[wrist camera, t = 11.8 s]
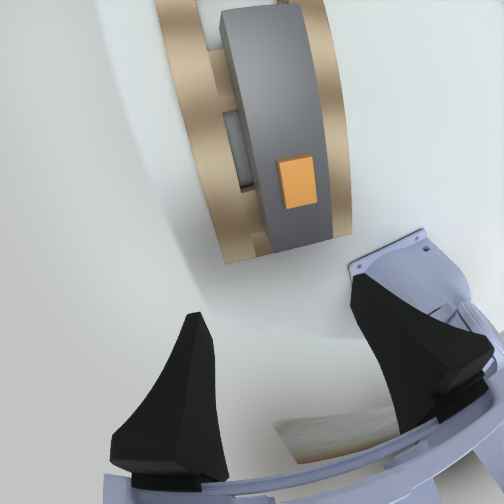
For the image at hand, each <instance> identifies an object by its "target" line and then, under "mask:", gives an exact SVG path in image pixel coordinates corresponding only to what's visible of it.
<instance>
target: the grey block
mask: <svg viewBox="0 0 504 504" xmlns="http://www.w3.org/2000/svg"><path fill="white" fill-rule="evenodd" d="M219 30H220V34H221V39H222V43H223V47H224V51H225V55H226V60H227V64H228V68H229V73H230V77H231V81H232V86H233V90H234V94H235V99H236V103H237V108H238V112H239V117H240V121H241V126H242V130H243V135H244V139H245V144H246V149H247V153H248V158H249V163H250V167H251V172H252V177H253V185H254V186H255V191H256V196H257V201H258V206H259V210H260V215H261V220H262V225H263V227H264V230H265V233H266V235H267V238H268V241H269V243H270V246H271V249H272V251H273V253H277V252H281V251H285V250H289V249H293V248H297V247H301V246H305V245H309V244H313V243H317V242H321V241H325V240H329V239H333V223H332V206H331V191H330V179H329V168H328V158H327V148H326V140H325V132H324V124H323V117H322V110H321V103H320V97H319V91H318V85H317V79H316V73H315V68H314V63H313V58H312V53H311V48H310V43H309V39H308V35H307V30H306V26H305V22H304V18H303V14H302V10H301V6H300V4H275V5H262V6H252V7H244V8H237V9H230V10H224V11H221V18H220V26H219Z"/></svg>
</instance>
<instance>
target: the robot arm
mask: <svg viewBox="0 0 504 504" xmlns="http://www.w3.org/2000/svg"><path fill="white" fill-rule="evenodd" d="M359 264H360V265H359ZM358 265H359V266H358ZM349 272H350V277H351V282H352V293H351V303H350V307H351V309H352V312H353V314H354V317H355V319H356V322H357V324H358V326H359V328H360V329H361V331H362V333H363V335H364V337H365V338H366V340H367V342H368V344H369V345H370V347H371V349H372V351H373V353H374V354H375V356H376V358H377V360H378V362H379V365H380V367H381V369H382V372H383V375H384V377H385V380H386V383H387V386H388V389H389V392H390V397H391V399H392V402H393V405H394V408H395V412H396V416H397V421H398V425H399V430H400V434H401V435H400V436H398V437H396V438H394V439H391V440H389V441H387V442H385V443H382V444H380V445H377V446H375V447H372V448H370V449H367V450H365V451H362V452H359V453H357V454H354V455H351V456H348V457H345V458H342V459H339V460H336V461H333V462H329V463H326V464H322V465H319V466H315V467H311V468H307V469H303V470H299V471H295V472H290V473H285V474H280V475H274V476H269V477H263V478H256V479H249V480H240V481H229V482H225V481H226V480H227V479H228V478H229V473H228V470H227V465H226V461H225V456H224V452H223V447H222V442H221V437H220V430H219V425H218V417H217V411H216V398H215V354H214V346H213V339H212V337H211V335H210V332H209V330H208V328H207V326H206V324H205V321H204V319H203V317H202V314H201V312H195V313H190V314H187V316H186V318H185V321H184V323H183V326H182V329H181V331H180V334H179V336H178V339H177V341H176V343H175V346H174V348H173V350H172V353H171V355H170V357H169V359H168V361H167V363H166V365H165V367H164V369H163V371H162V372H161V374H160V376H159V378H158V379H157V381H156V383H155V384H154V386H153V387H152V389H151V390H150V392H149V393H148V395H147V396H146V398H145V399H144V400H143V402H142V403H141V404H140V406H139V407H138V408H137V409H136V411H135V412H134V413H133V414H132V415H131V417H130V418H129V419H128V420H127V421H126V422H125V423H124V424H123V425H122V426H121V427H120V428H119V429H118V430H117V431H116V432H115V433H114V434H113V435H112V440H111V449H110V462H111V463H112V464H113V465H115V466H117V467H119V468H122V469H124V470H126V471H129V472H131V473H132V478H130V477H125V476H118V475H111V474H104V484H103V486H104V487H103V504H442V502H441V499H440V496H439V493H438V491H437V488H436V485H435V482H434V480H433V477H434V476H436V475H437V474H439V473H440V472H442V471H443V470H445V469H446V468H448V467H449V466H451V465H452V464H453V463H455V462H456V461H458V460H459V459H460V458H462V457H463V456H464V455H466V454H467V453H468V452H470V451H471V450H472V449H473V451H474V452H475V453H476V455H477V456H478V457H479V459H480V460H481V461H482V463H483V464H484V465H485V467H486V468H487V470H488V471H489V473H490V474H491V475H492V477H493V478H494V480H495V481H496V482H497V484H498V485H499V487H500V488H501V490H502V491H503V493H504V341H503V339H502V338H501V336H500V335H499V333H498V332H497V330H496V329H495V328H494V326H493V325H492V324H491V323H490V321H489V320H488V319H487V318H486V317H485V315H484V314H483V313H482V312H481V311H480V310H479V309H478V308H477V307H476V306H475V305H474V304H473V303H471V294H470V288H469V285H468V282H467V280H466V278H465V276H464V274H463V273H462V271H461V270H460V269H459V268H458V267H457V266H456V265H455V264H454V263H453V262H452V261H451V260H450V259H449V258H448V257H447V256H446V255H445V254H444V253H443V252H442V251H441V250H440V249H439V248H438V247H437V246H436V245H435V244H433V243H432V242H431V241H430V240H429V239H428V238H427V231H426V230H425V229H422V230H420V231H418V232H416V233H414V234H412V235H410V236H408V237H406V238H404V239H402V240H400V241H398V242H395V243H393V244H391V245H389V246H387V247H385V248H383V249H381V250H379V251H377V252H375V253H372V254H370V255H368V256H366V257H364V258H362V259H360V260H357V261H355V262H353V263H351V264H350V266H349ZM415 443H416V444H415ZM413 444H415V445H414V447H412V448H410V449H408V450H406V451H405V452H403V453H401V454H399V455H397V456H395V458H394V459H392V460H391V461H389V462H387V463H386V464H384V469H385V471H384V472H381V473H379V474H376V475H374V476H371V477H369V478H366V479H363V480H361V481H358V482H355V483H352V484H349V485H346V486H343V487H340V488H337V489H333V490H330V491H327V492H323V493H320V494H316V495H312V496H308V497H304V498H299V499H295V500H290V501H286V502H280V503H275V498H273V497H268V496H266V495H263V496H252V497H238V498H236V497H234V496H237V495H247V494H256V493H262V492H269V491H275V490H281V489H286V488H291V487H296V486H300V485H305V484H309V483H313V482H317V481H320V480H324V479H328V478H331V477H334V476H338V475H341V474H344V473H347V472H350V471H353V470H355V469H358V468H361V467H364V466H366V465H369V464H372V463H374V462H376V461H379V460H381V459H384V458H386V457H388V456H391V455H393V454H395V453H397V452H399V451H401V450H403V449H405V448H408V447H410V446H412V445H413Z"/></svg>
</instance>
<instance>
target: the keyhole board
mask: <svg viewBox="0 0 504 504" xmlns="http://www.w3.org/2000/svg"><path fill="white" fill-rule="evenodd" d="M277 1H278V4H300V6H301V10H302V14H303V18H304V22H305V26H306V30H307V35H308V39H309V43H310V48H311V53H312V58H313V63H314V68H315V73H316V79H317V85H318V91H319V97H320V103H321V110H322V117H323V124H324V132H325V140H326V148H327V158H328V168H329V179H330V191H331V206H332V223H333V238H336V237H340V236H344V235H348V234H352V206H351V179H350V162H349V149H348V138H347V128H346V119H345V110H344V103H343V95H342V89H341V82H340V76H339V70H338V64H337V59H336V54H335V49H334V44H333V39H332V35H331V30H330V26H329V22H328V18H327V14H326V10H325V6H324V2H323V0H277ZM155 3H156V8H157V13H158V17H159V22H160V26H161V31H162V35H163V39H164V44H165V48H166V52H167V56H168V60H169V64H170V69H171V73H172V77H173V81H174V85H175V89H176V92H177V96H178V100H179V104H180V108H181V112H182V116H183V119H184V123H185V127H186V130H187V134H188V138H189V141H190V145H191V149H192V152H193V156H194V160H195V163H196V167H197V170H198V174H199V177H200V181H201V184H202V188H203V191H204V194H205V198H206V201H207V205H208V208H209V211H210V215H211V218H212V221H213V225H214V228H215V231H216V234H217V238H218V241H219V244H220V247H221V251H222V254H223V257H224V260H225V263H226V265H227V264H231V263H235V262H239V261H243V260H247V259H251V258H255V257H260V256H264V255H268V254H272V253H273V251H272V249H271V246H270V243H269V241H268V238H267V235H266V233H265V230H264V227H263V225H262V220H261V215H260V210H259V206H258V201H257V196H256V191H255V186H254V185H252V186H248V187H243V188H240V186H239V182H238V177H237V173H236V169H235V165H234V160H233V156H232V152H231V148H230V143H229V139H228V135H227V131H226V126H225V122H224V118H223V114H222V113H223V112H228V111H232V110H237V109H238V108H237V103H236V99H235V94H234V90H233V86H232V81H231V77H230V73H229V68H228V64H227V60H226V55H225V51H224V48H221V49H216V50H212V51H208V50H207V46H206V42H205V38H204V34H203V30H202V25H201V21H200V17H199V13H198V9H197V5H196V0H155Z"/></svg>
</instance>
